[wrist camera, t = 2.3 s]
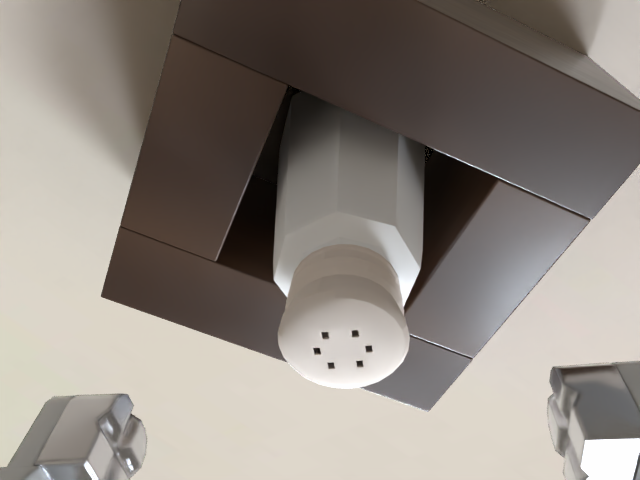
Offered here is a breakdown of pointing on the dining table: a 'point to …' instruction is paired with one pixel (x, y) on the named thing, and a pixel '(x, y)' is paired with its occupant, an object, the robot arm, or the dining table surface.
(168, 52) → the holder
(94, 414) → the robot arm
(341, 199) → the pepper shaker
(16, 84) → the dining table surface
